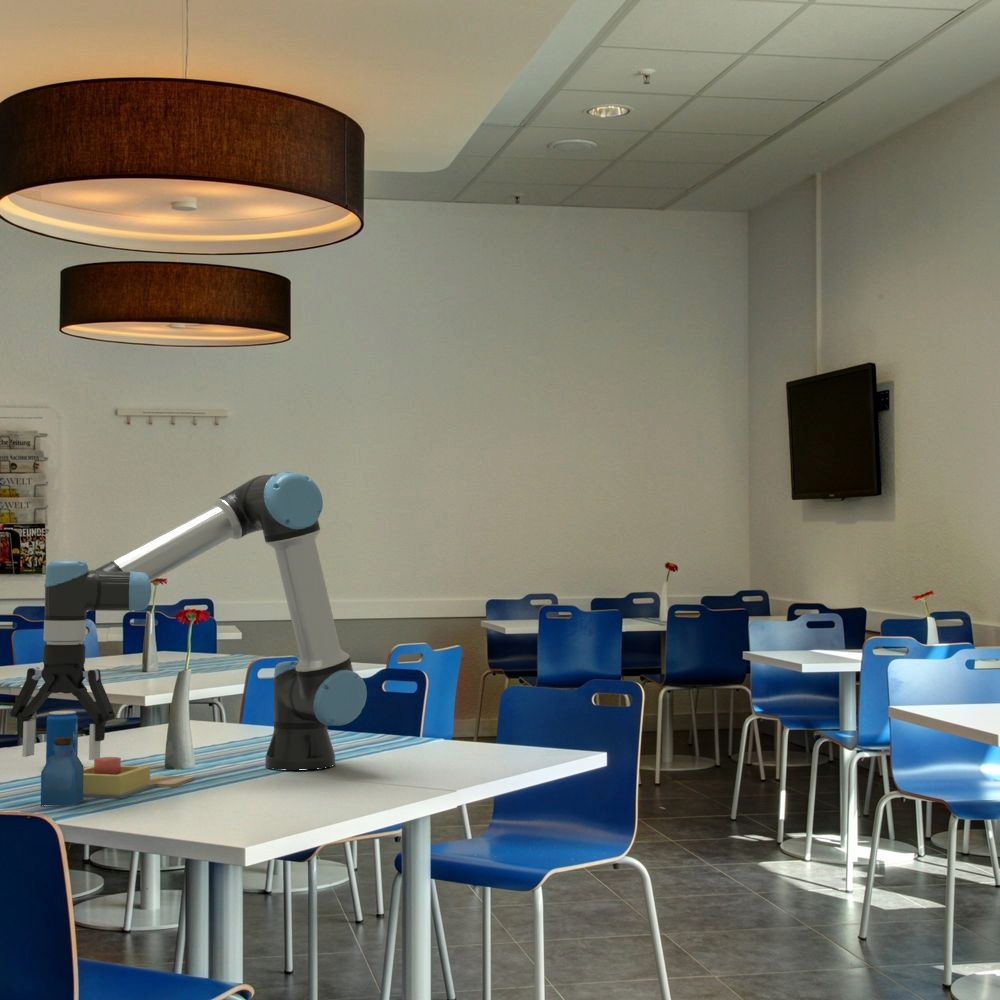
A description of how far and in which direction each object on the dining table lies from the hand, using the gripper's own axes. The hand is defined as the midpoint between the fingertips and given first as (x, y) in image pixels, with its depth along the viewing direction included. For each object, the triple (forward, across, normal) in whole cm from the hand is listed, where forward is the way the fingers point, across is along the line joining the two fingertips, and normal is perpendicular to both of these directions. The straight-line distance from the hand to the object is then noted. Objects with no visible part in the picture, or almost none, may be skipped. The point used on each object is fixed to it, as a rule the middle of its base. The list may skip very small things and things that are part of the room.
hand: (61, 757), depth 243 cm
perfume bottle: (+9, 0, 0) cm, 9 cm away
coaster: (+8, -9, -24) cm, 27 cm away
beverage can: (+8, +22, -37) cm, 44 cm away
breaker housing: (+8, -2, -13) cm, 16 cm away
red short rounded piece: (+5, -2, -13) cm, 14 cm away
